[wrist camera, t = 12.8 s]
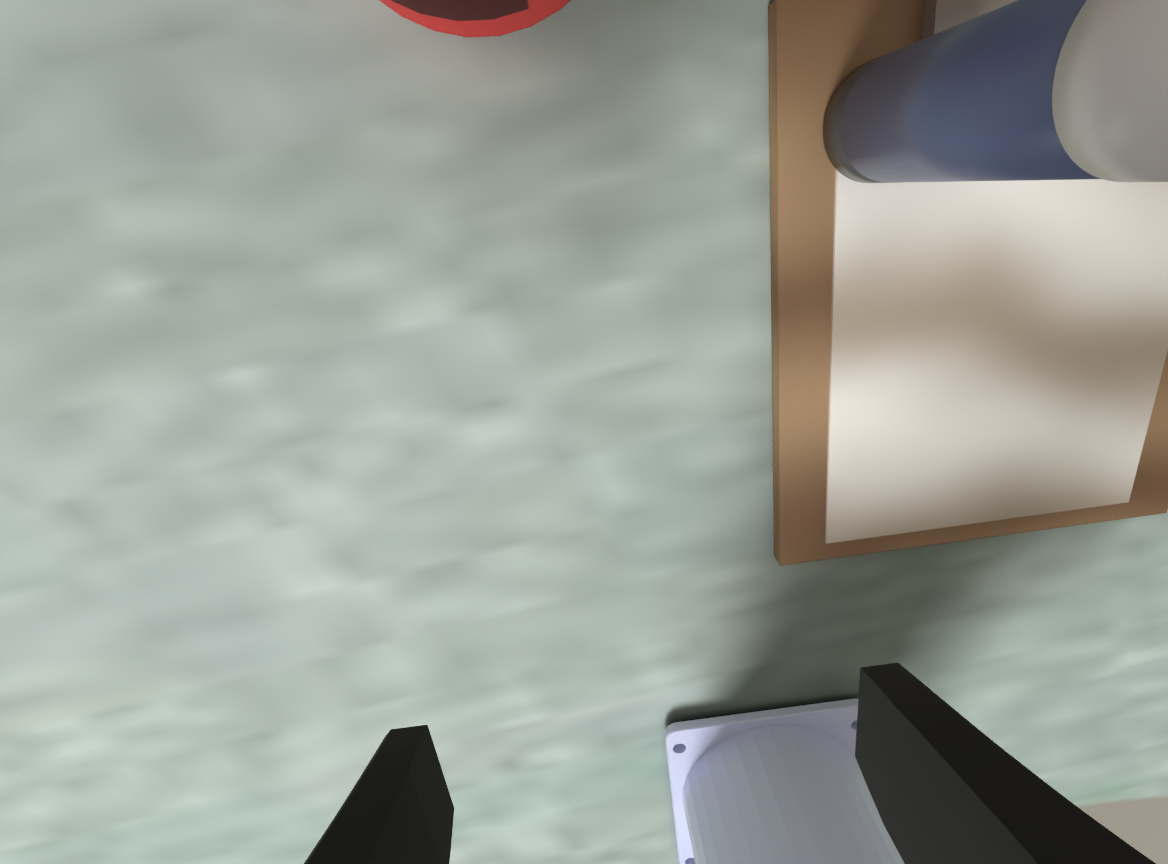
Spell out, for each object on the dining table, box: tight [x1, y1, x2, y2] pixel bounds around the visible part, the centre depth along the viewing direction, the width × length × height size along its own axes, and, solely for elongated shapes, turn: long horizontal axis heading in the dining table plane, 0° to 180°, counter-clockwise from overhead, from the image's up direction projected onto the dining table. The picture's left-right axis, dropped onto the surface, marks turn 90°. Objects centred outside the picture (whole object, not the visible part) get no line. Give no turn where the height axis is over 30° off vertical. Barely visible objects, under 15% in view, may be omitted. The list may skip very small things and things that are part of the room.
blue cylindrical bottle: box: [823, 0, 1168, 183], centre depth 11 cm, size 3×3×8 cm
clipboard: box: [768, 0, 1168, 565], centre depth 17 cm, size 16×13×1 cm
